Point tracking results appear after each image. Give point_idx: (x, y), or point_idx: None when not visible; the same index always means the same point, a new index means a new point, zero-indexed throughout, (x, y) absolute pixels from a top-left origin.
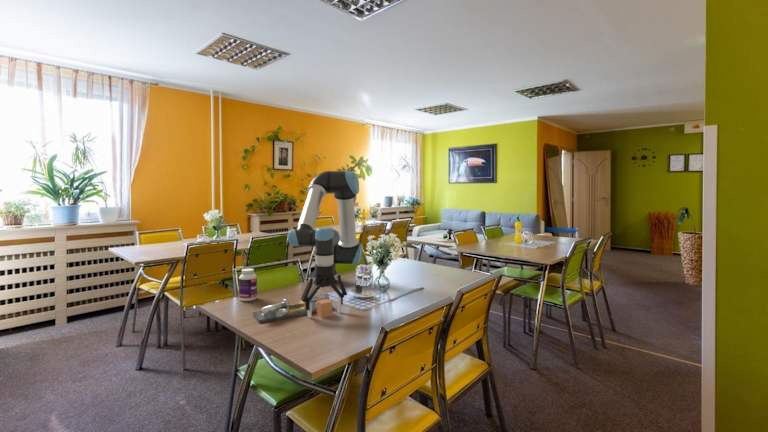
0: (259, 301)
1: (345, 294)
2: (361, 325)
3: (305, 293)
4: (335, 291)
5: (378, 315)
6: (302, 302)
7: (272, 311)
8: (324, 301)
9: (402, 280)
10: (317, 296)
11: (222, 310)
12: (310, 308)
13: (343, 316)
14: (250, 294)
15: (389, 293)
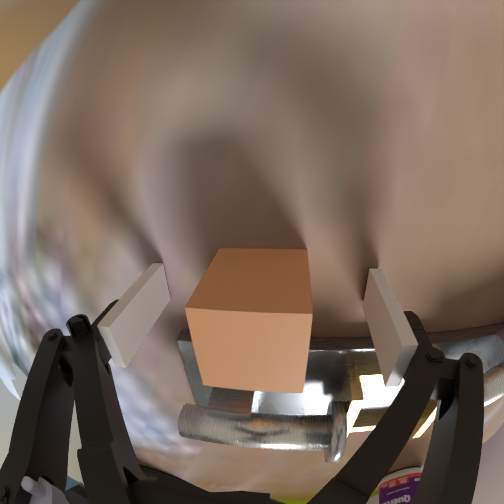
0: (392, 465)
1: (56, 333)
2: (123, 13)
3: (480, 421)
4: (115, 400)
5: (18, 140)
6: (355, 419)
7: None
8: (251, 353)
9: (3, 377)
10: (251, 438)
11: (489, 428)
12: (397, 310)
13: (155, 198)
14: (410, 482)
15: (3, 336)
